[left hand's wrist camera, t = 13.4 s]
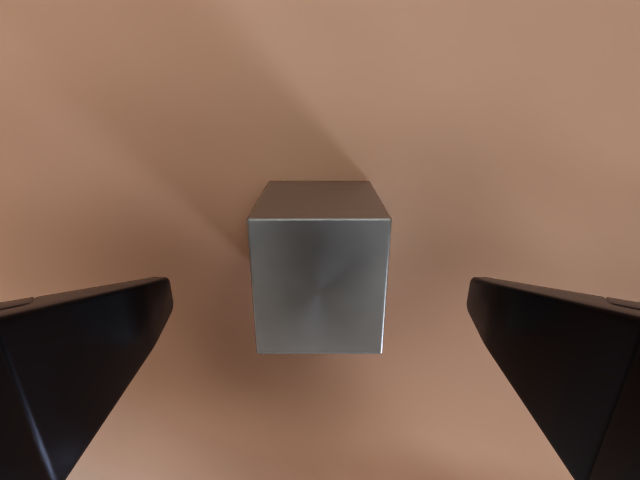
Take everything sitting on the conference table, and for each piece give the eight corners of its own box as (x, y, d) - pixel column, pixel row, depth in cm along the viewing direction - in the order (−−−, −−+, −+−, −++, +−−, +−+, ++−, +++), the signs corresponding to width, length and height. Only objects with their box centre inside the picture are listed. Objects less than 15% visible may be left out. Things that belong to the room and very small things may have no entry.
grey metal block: (268, 180, 15) (246, 218, 10) (370, 180, 15) (392, 218, 10) (273, 283, 17) (256, 354, 12) (364, 283, 17) (382, 354, 12)
